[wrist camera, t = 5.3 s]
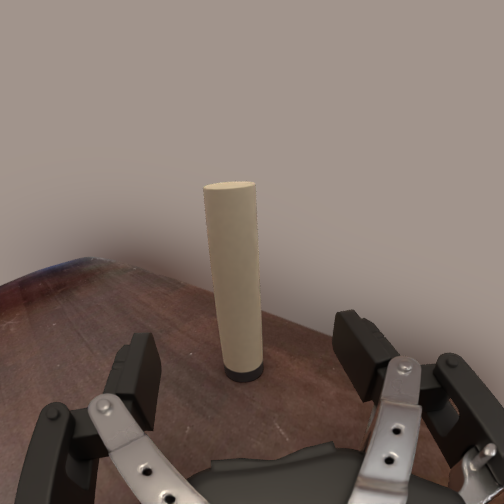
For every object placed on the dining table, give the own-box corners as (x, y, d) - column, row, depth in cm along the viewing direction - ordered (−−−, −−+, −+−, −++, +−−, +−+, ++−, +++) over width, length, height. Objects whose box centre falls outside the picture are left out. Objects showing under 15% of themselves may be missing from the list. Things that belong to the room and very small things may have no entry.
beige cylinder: (254, 352, 21) (244, 180, 17) (269, 375, 19) (264, 184, 14) (220, 362, 20) (198, 185, 16) (232, 387, 18) (210, 190, 13)
